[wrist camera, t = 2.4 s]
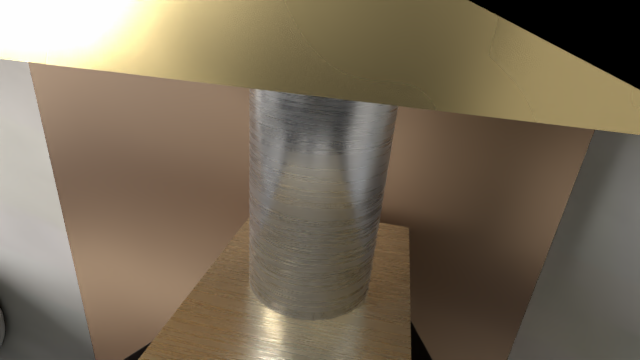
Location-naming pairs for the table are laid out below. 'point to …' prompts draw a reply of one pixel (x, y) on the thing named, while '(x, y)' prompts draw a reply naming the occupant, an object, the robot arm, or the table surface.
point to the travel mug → (2, 327)
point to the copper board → (233, 191)
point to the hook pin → (305, 245)
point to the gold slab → (337, 53)
